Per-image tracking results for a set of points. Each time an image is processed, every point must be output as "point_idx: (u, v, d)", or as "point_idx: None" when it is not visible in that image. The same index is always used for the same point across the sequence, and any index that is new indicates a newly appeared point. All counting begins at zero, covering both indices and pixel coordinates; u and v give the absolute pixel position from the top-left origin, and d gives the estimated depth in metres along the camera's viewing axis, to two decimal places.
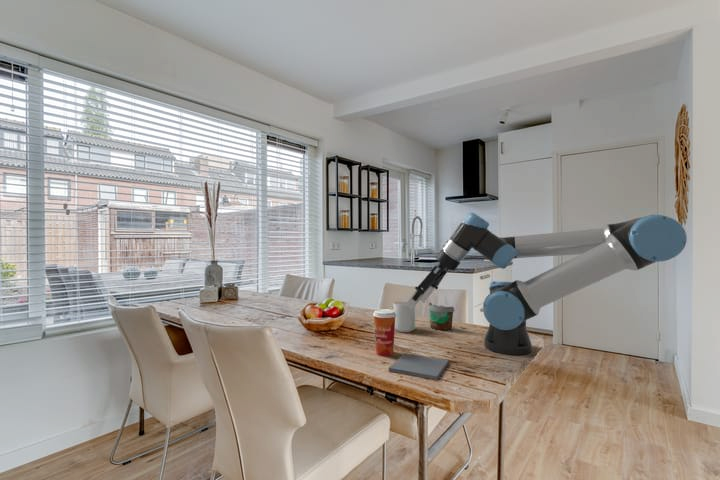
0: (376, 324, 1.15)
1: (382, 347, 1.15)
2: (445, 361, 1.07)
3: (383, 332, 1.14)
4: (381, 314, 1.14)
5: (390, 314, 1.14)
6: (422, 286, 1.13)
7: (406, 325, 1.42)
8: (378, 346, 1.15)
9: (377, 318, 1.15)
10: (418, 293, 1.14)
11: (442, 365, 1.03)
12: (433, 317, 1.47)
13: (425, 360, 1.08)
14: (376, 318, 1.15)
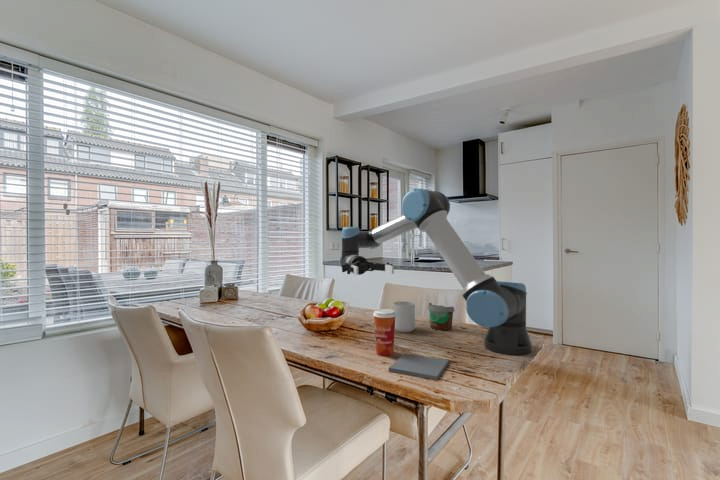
0: (376, 324, 1.15)
1: (382, 347, 1.15)
2: (445, 361, 1.07)
3: (383, 332, 1.14)
4: (381, 314, 1.14)
5: (390, 314, 1.14)
6: None
7: (406, 325, 1.42)
8: (378, 346, 1.15)
9: (377, 318, 1.15)
10: (348, 268, 1.29)
11: (442, 365, 1.03)
12: (433, 317, 1.47)
13: (425, 360, 1.08)
14: (376, 318, 1.15)
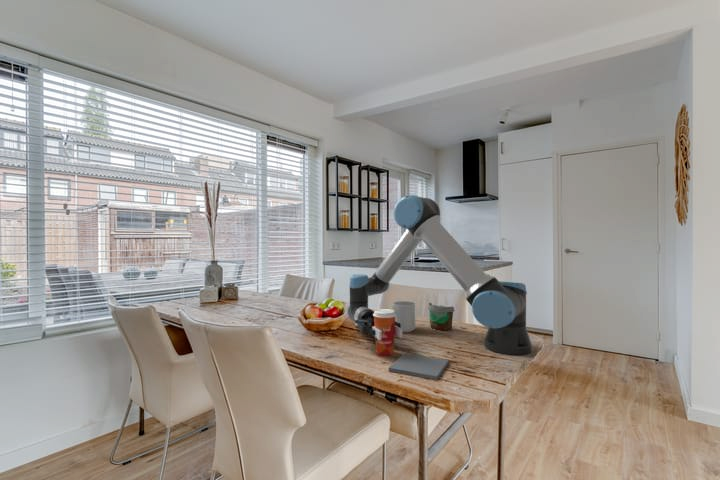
0: (376, 324, 1.15)
1: (382, 347, 1.15)
2: (445, 361, 1.07)
3: (383, 332, 1.14)
4: (381, 314, 1.14)
5: (390, 314, 1.14)
6: (361, 329, 1.19)
7: (406, 325, 1.42)
8: (378, 346, 1.15)
9: (377, 318, 1.15)
10: (369, 330, 1.17)
11: (442, 365, 1.03)
12: (433, 317, 1.47)
13: (425, 360, 1.08)
14: (376, 318, 1.15)
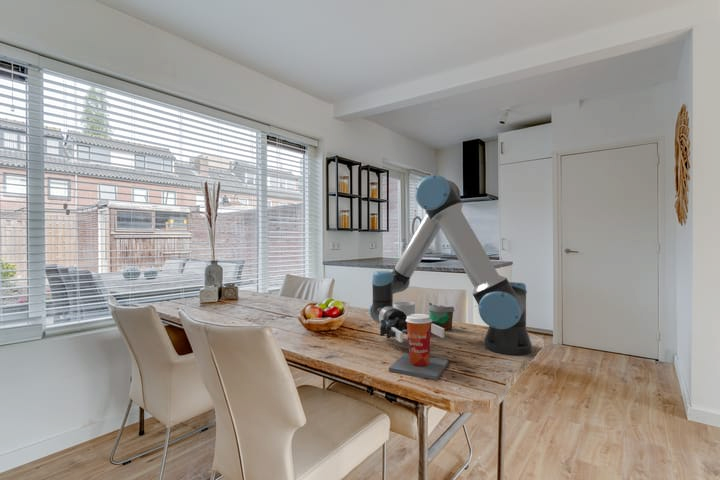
0: (410, 330, 1.03)
1: (417, 357, 1.02)
2: (445, 361, 1.07)
3: (418, 339, 1.02)
4: (416, 319, 1.02)
5: (426, 319, 1.02)
6: None
7: None
8: (412, 356, 1.03)
9: (411, 324, 1.03)
10: (388, 332, 1.06)
11: (442, 365, 1.03)
12: (433, 317, 1.47)
13: None
14: (410, 324, 1.03)
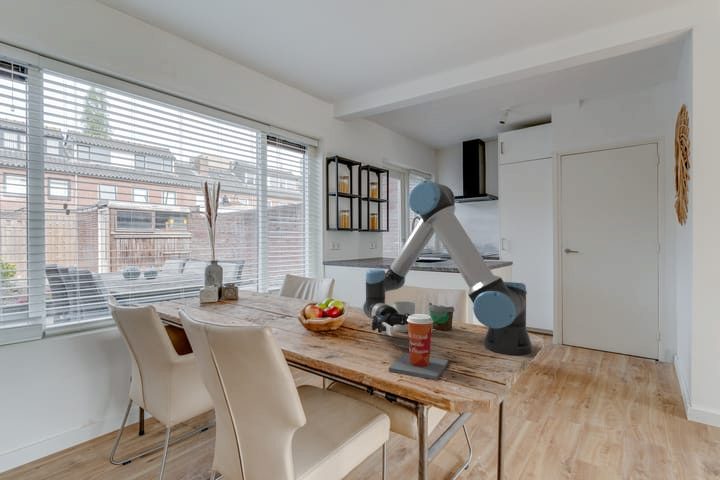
0: (411, 331, 1.03)
1: (418, 357, 1.02)
2: (445, 361, 1.07)
3: (419, 340, 1.02)
4: (417, 320, 1.02)
5: (427, 320, 1.02)
6: None
7: (406, 325, 1.42)
8: (413, 356, 1.03)
9: (412, 324, 1.03)
10: (379, 326, 1.12)
11: (442, 365, 1.03)
12: (433, 317, 1.47)
13: None
14: (411, 324, 1.03)
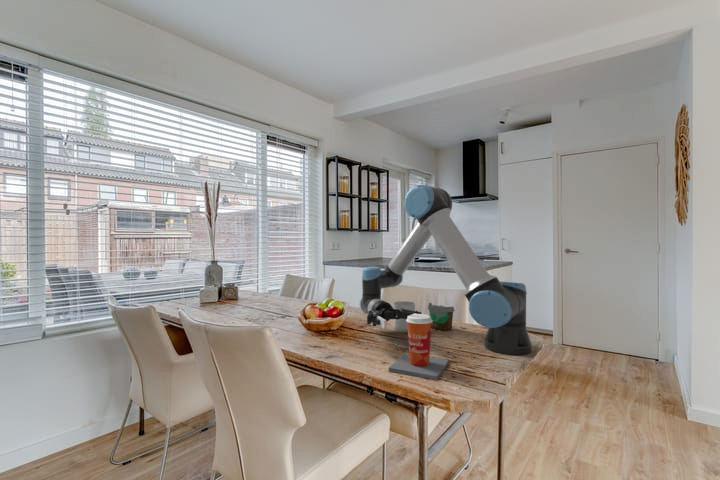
0: (411, 331, 1.03)
1: (418, 357, 1.02)
2: (445, 361, 1.07)
3: (418, 340, 1.02)
4: (416, 320, 1.02)
5: (426, 320, 1.02)
6: None
7: (406, 325, 1.42)
8: (413, 356, 1.03)
9: (412, 324, 1.03)
10: (373, 320, 1.17)
11: (442, 365, 1.03)
12: (433, 317, 1.47)
13: None
14: (410, 324, 1.03)
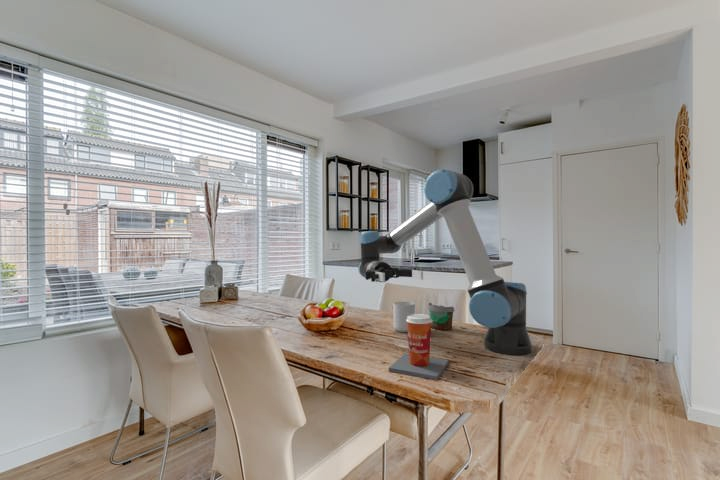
0: (411, 331, 1.03)
1: (418, 357, 1.02)
2: (445, 361, 1.07)
3: (418, 340, 1.02)
4: (416, 320, 1.02)
5: (426, 320, 1.02)
6: None
7: (406, 325, 1.42)
8: (413, 356, 1.03)
9: (411, 324, 1.03)
10: (372, 275, 1.18)
11: (442, 365, 1.03)
12: (433, 317, 1.47)
13: None
14: (410, 324, 1.03)
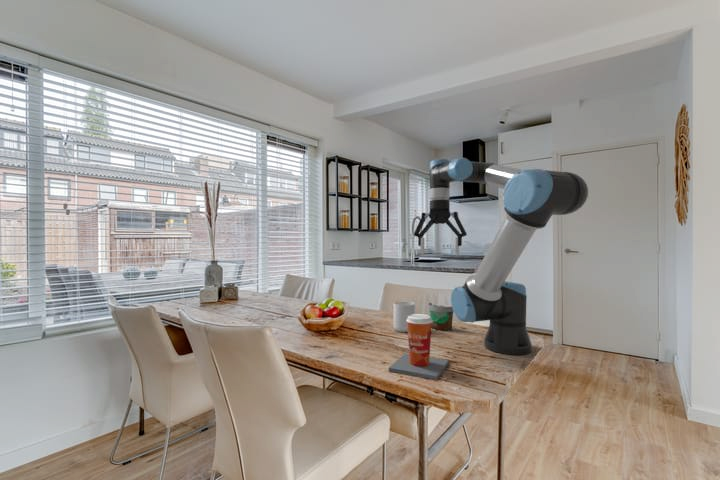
0: (411, 331, 1.03)
1: (418, 357, 1.02)
2: (445, 361, 1.07)
3: (419, 340, 1.02)
4: (417, 320, 1.02)
5: (427, 320, 1.02)
6: None
7: (406, 325, 1.42)
8: (413, 356, 1.03)
9: (412, 324, 1.03)
10: None
11: (442, 365, 1.03)
12: (433, 317, 1.47)
13: None
14: (411, 324, 1.03)
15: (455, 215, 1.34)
